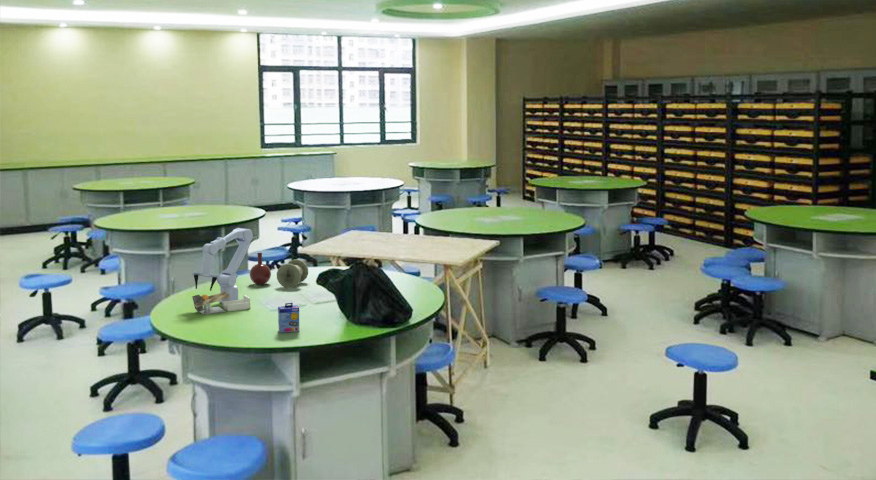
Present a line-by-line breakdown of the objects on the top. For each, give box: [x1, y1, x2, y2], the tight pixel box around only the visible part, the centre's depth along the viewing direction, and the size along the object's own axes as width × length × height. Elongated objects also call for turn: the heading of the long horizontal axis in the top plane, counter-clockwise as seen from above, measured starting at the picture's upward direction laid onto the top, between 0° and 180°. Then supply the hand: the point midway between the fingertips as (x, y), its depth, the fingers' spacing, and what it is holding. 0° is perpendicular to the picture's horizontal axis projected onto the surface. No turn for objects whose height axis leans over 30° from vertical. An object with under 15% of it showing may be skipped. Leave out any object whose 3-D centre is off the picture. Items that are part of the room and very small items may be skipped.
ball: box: [200, 294, 209, 301], centre depth 408 cm, size 4×4×4 cm
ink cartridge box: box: [277, 302, 300, 334], centre depth 371 cm, size 10×6×14 cm, turn 112°
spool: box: [276, 259, 309, 289], centre depth 476 cm, size 16×15×15 cm
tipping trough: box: [191, 291, 230, 313], centre depth 412 cm, size 18×12×7 cm, turn 120°
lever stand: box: [198, 303, 226, 316], centre depth 410 cm, size 12×12×6 cm
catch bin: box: [222, 294, 251, 312], centre depth 417 cm, size 12×10×6 cm
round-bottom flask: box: [249, 252, 272, 286], centre depth 478 cm, size 13×13×20 cm
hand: (203, 289), depth 417 cm, fingers open, 7 cm apart
